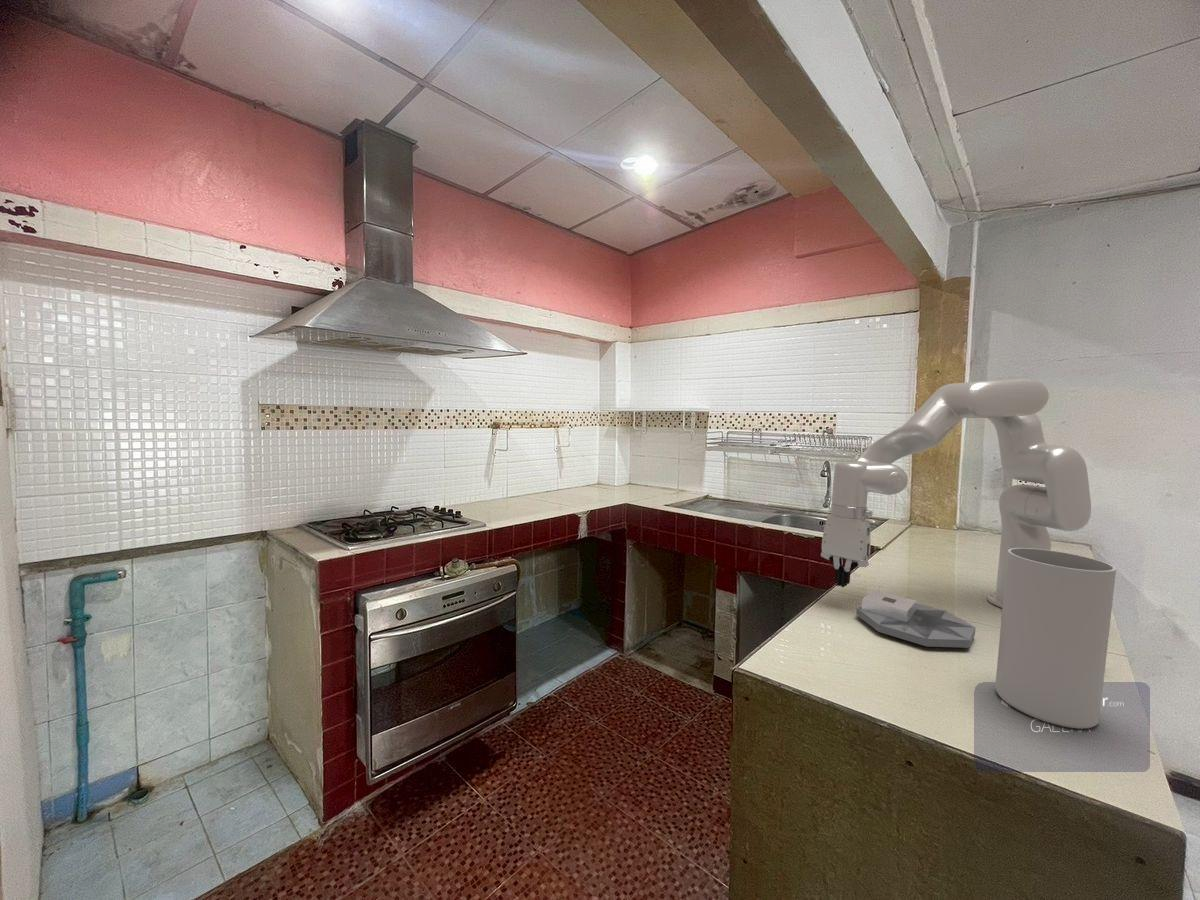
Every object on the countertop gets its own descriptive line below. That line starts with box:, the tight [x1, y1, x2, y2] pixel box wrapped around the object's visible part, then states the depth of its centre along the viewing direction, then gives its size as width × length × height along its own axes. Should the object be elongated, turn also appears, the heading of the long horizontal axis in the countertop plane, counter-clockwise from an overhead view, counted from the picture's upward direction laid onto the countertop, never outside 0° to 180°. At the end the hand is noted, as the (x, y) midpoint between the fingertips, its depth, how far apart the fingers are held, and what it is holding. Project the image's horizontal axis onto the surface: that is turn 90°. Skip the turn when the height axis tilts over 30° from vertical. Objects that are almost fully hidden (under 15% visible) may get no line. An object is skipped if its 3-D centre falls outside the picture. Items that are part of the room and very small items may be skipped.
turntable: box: [856, 602, 977, 649], centre depth 106 cm, size 21×21×2 cm
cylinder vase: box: [994, 548, 1117, 730], centre depth 77 cm, size 12×12×25 cm
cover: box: [861, 589, 918, 622], centre depth 109 cm, size 9×9×3 cm
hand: (841, 585), depth 116 cm, fingers closed
